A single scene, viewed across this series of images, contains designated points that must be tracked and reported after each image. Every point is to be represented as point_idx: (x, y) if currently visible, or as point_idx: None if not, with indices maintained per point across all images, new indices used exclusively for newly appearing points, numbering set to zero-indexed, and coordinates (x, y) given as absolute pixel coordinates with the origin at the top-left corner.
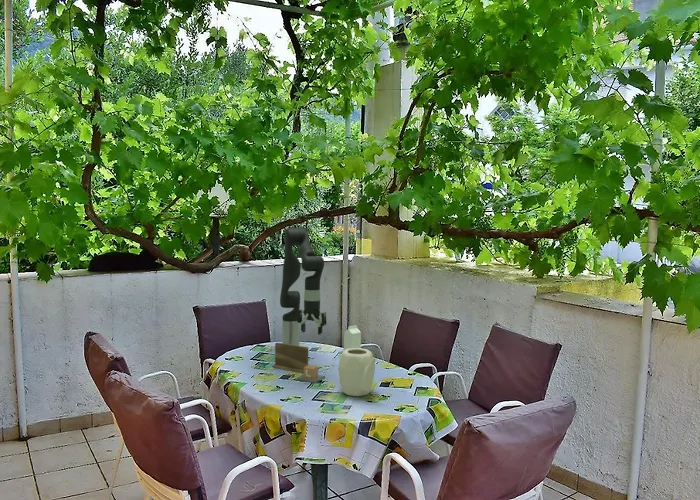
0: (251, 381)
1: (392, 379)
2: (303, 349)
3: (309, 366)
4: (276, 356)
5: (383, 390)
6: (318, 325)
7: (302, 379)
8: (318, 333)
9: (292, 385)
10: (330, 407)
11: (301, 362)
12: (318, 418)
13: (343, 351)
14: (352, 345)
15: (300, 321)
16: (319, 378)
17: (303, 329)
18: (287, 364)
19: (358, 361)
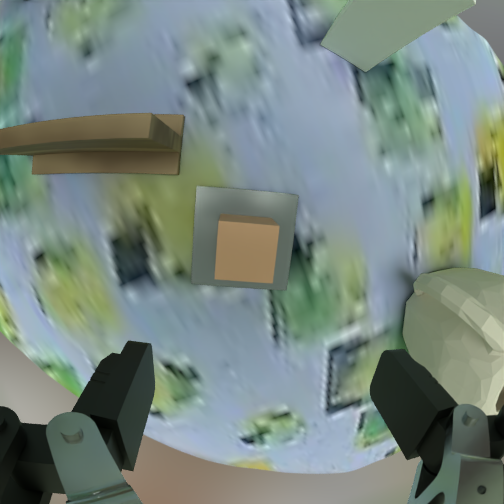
0: (70, 350)
1: (492, 138)
2: (126, 140)
3: (236, 251)
4: (15, 154)
5: (488, 251)
6: (420, 474)
7: (223, 285)
8: (379, 400)
9: (212, 342)
10: (381, 422)
11: (141, 148)
12: (363, 464)
13: (484, 408)
14: (431, 28)
15: (56, 483)
16: (288, 241)
17: (147, 411)
18: (77, 151)
19: (501, 407)
